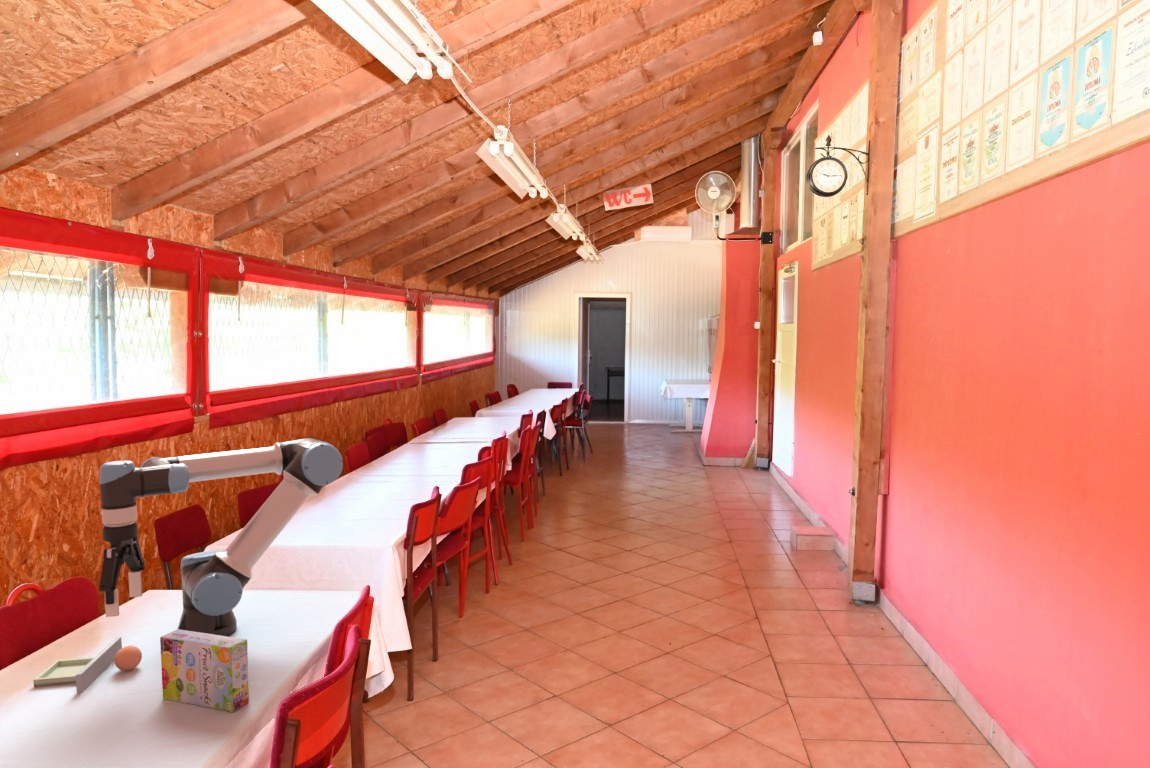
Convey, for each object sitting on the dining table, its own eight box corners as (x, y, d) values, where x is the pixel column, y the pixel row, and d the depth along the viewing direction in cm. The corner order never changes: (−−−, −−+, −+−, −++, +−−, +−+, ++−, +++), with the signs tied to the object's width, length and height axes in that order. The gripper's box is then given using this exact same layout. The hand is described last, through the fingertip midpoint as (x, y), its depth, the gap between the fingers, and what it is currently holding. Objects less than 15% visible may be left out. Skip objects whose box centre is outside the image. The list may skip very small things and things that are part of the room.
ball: (146, 663, 190) (145, 640, 190) (136, 673, 184) (135, 650, 184) (121, 665, 189) (119, 642, 189) (110, 676, 183) (109, 652, 183)
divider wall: (122, 653, 196) (121, 636, 196) (82, 692, 175) (81, 674, 175) (117, 653, 196) (116, 637, 196) (76, 693, 175) (75, 674, 174)
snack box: (251, 701, 170) (248, 638, 168) (232, 713, 164) (229, 648, 163) (180, 688, 176) (177, 627, 175) (160, 699, 171) (157, 636, 170)
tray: (104, 662, 191) (103, 656, 191) (83, 682, 180) (83, 675, 180) (57, 666, 189) (56, 660, 189) (33, 687, 178) (33, 679, 178)
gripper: (125, 512, 196) (129, 590, 197) (78, 537, 171) (84, 626, 173) (155, 510, 197) (159, 588, 198) (114, 535, 172) (119, 623, 174)
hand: (124, 606), depth 186 cm, fingers open, 13 cm apart
